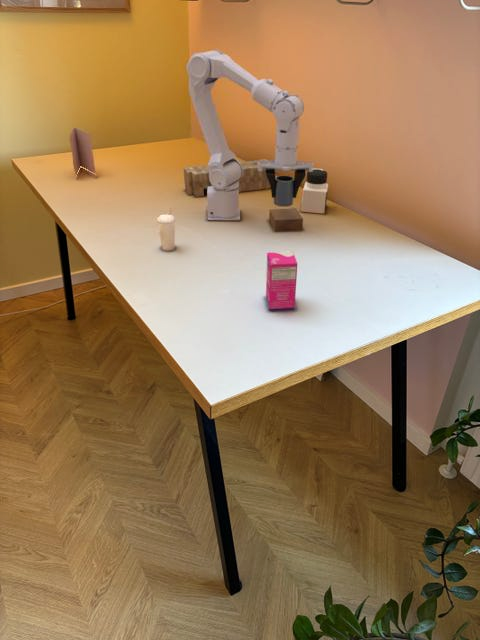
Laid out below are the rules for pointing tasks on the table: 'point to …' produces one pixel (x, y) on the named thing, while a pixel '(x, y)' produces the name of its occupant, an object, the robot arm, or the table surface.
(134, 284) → the table surface
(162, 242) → the milkshake
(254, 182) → the block tower
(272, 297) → the supplement box
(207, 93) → the robot arm
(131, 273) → the table surface
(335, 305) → the table surface
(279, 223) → the block
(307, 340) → the table surface
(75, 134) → the greeting card
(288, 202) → the cup
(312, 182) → the medicine bottle
